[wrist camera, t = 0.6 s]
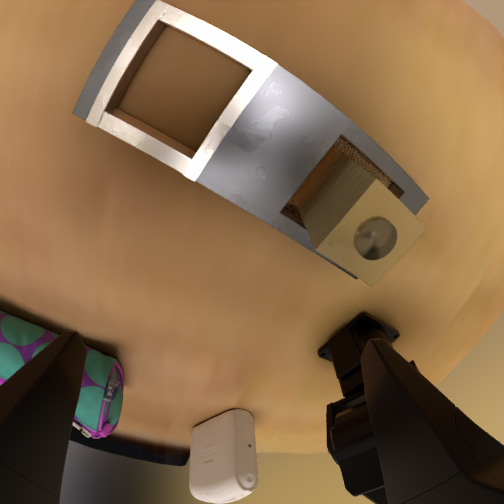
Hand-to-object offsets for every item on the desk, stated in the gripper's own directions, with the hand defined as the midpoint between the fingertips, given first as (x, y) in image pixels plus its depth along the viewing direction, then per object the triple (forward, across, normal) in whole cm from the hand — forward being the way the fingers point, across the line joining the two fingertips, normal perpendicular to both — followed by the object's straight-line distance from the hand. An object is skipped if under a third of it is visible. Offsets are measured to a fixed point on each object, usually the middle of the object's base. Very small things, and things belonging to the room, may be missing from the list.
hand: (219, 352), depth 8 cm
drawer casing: (+12, -2, -4) cm, 13 cm away
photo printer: (+13, +2, +32) cm, 35 cm away
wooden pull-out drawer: (+13, -7, -1) cm, 15 cm away
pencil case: (+13, +21, +16) cm, 29 cm away
